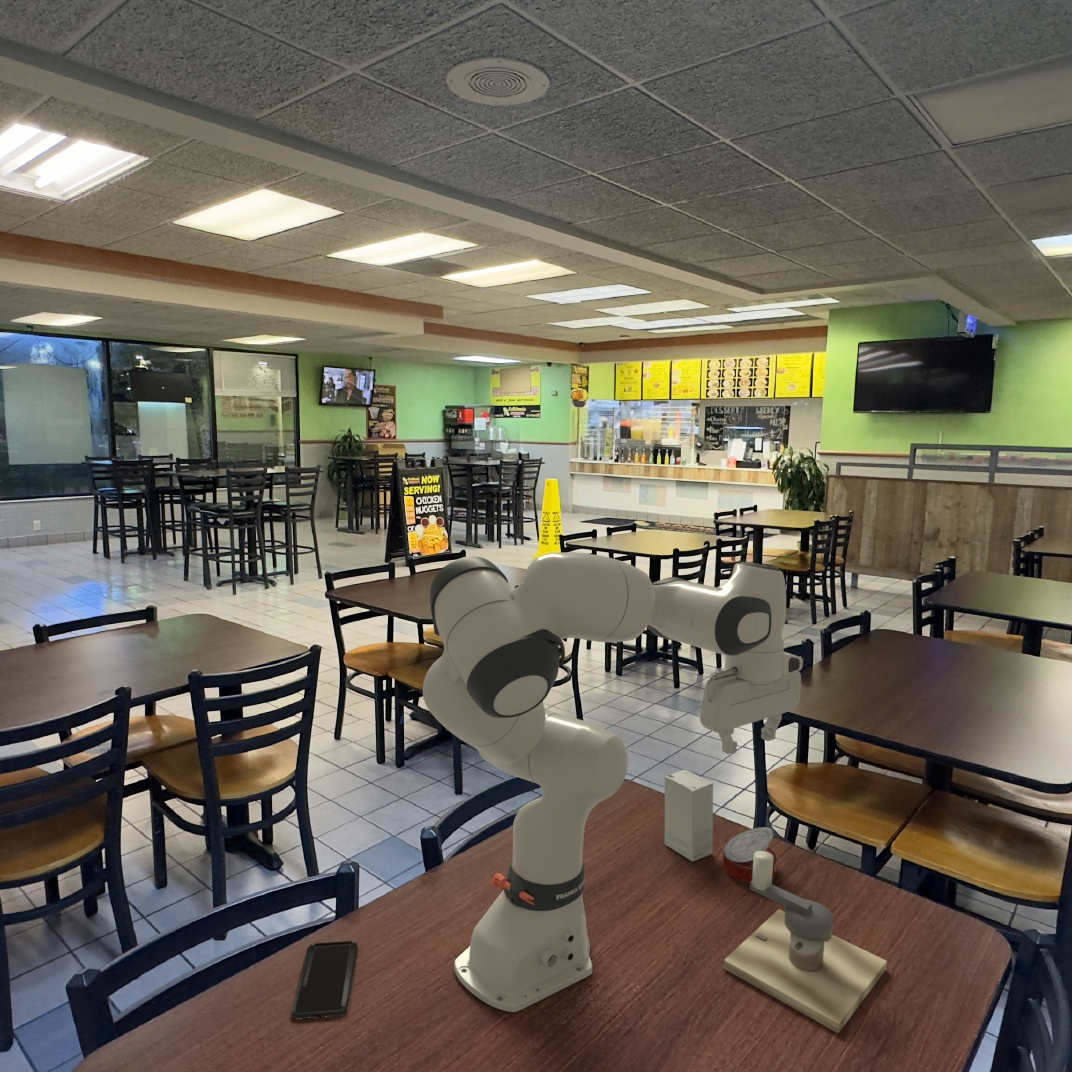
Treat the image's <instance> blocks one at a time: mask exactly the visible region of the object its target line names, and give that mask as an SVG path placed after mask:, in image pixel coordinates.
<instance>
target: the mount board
mask: <svg viewBox="0 0 1072 1072" xmlns="http://www.w3.org/2000/svg"><path fill="white" fill-rule="evenodd" d="M784 920H785V910H784V911H783V910H782V909H777V910H776V911H775V912H774V913H773V914H772V915H771V916H770V917H769V918H768V919H766V921H764V922H763V923H762V924H761V925H760V926H759V927H758V928H757V929H756V930H755V931H754V932H752V933H751V934H750V935H749V936H748V937H747V938H745V940H744V941H743V942H742V943H741V944H739V945H738V946H737V947H736V948H735V949H734V950H733V951H732V952H731V953H729V955H727V956H726V958H725V959H724V960H723V969H724V970H725V971H726V972H728V973H730V974H732V975H734V976H736V977H737V978H739V979H741V980H743V981H744V982H746V983H748V984H750V985H752V986H754V987H755V988H757V989H759V990H760V991H762V992H763V993H766V994H767V995H770V996H771V997H773V998H774V997H775V998H774V999H777V1000H778V1001H780V1002H781V1003H783V1004H785V1005H787V1004H788V1005H787V1006H789V1007H790V1006H791V1007H790V1008H792V1009H794V1010H796V1011H798V1012H799V1013H801V1014H803V1015H804V1016H807V1017H809V1018H810V1019H812V1020H813V1021H815V1022H817V1023H819V1024H821V1025H823V1026H824V1027H825V1028H826V1029H827V1028H828V1029H829V1030H831V1031H833V1032H835V1033H836V1034H839V1033H840V1032H841V1031H842V1029H844V1027H845V1026H846V1024H847V1023H848V1021H849V1020H851V1017H852V1016H853V1014H854V1013H855V1012H856V1011H857V1010H858V1008H859V1007H860V1005H861V1004H862V1002H863V1001H864V1000H865V998H866V997H867V996H868V994H869V993H870V992H871V990H872V989H873V988H874V987H875V985H876V984H877V982H879V979H880V978H881V977H882V976H883V974H885V972H886V970H887V962H888V960H886V959H884V958H882V957H880V956H877V955H875V954H873V953H872V952H870V951H867V950H865V949H864V948H860V947H859V946H857V945H855V944H852V943H850V942H848V941H846V940H844V939H842V938H840V937H838V936H836V935H834V934H832V935H831V937H830V938H829V939H827V940H824V941H809V940H805V939H802V938H800V937H797V936H796V935H794V934H793V933H791V932H790V931H789V930H788V929H787V927H786V926H785V923H784Z"/></svg>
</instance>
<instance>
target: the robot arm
mask: <svg viewBox="0 0 1072 1072" xmlns="http://www.w3.org/2000/svg"><path fill="white" fill-rule="evenodd" d="M731 573H732V575H731V576H730V578H728V580H726V581H725V582H723V584H721V585H719V586H717V587H716V586H715V587H714V586H711V585H707V584H703V583H698V582H697V583H696V582H694V581H693V582H692V581H689V580H687V579H685V578H684V579H683V578H681V577H680V578H679V577H676V576H671V577H665V578H663V579H660V580H658V581H657V580H656V581H654V582H652V581H651V578H650V576H649V575H648V573H646V572H645V571H643V570H641V569H640V568H638V567H635V566H634V565H633V564H629V563H627V562H625V561H622V560H619V559H615V558H612V557H607V556H603V555H599V554H591V553H584V552H569V551H568V552H550V553H545V554H542V555H540V556H538V557H537V558H536V559H534V560H533V561H532V562H531V563H530V564H529V565H528V567H527V568H526V570H525V571H524V573H523V576H522V579H521V581H520V584H519V585H518V586H516V587H514V588H512V587H511V585H510V583H509V580H508V578H507V576H506V575H505V574H504V573H503V571H502V570H501V569H499V567H498V566H497V565H496V564H494V562H492V561H490V560H489V559H487V558H484V557H481V556H475V555H474V556H464V557H461V558H460V557H459V558H458V559H455V560H453V561H451V562H450V563H447V564H446V565H445V566H443V567H442V568H441V569H440V570H439V571H438V572H437V574H435V576H434V578H433V580H432V581H431V584H430V587H429V605H430V612H431V619H432V622H433V623H432V625H433V631H434V634H435V635H436V636H437V637H440V639H441V642H442V643H443V651H442V652H443V653H442V655H441V656H440V657H438V659H437V660H435V661H434V662H433V664H432V665H430V668H429V669H428V670H427V671H426V674H425V676H424V680H423V684H422V697H423V701H424V704H425V706H426V707H427V709H428V711H429V712H430V714H432V716H433V717H434V718H435V720H437V722H438V723H439V724H441V726H443V727H444V728H445V729H446V730H447V731H449V732H450V733H451V734H452V735H454V736H455V737H457V739H459V740H461V741H462V742H464V743H466V744H468V745H469V746H471V747H473V748H475V749H476V750H477V752H478V753H479V755H480V757H481V758H482V759H483V760H484V761H486V762H487V763H489V764H490V765H492V766H493V767H496V768H497V769H498V770H501V772H504V773H506V774H508V775H511V776H514V777H517V778H520V779H523V780H526V781H528V782H531V783H534V784H537V785H539V786H540V789H541V797H539V798H536V799H533V800H532V801H531V800H530V801H529V802H527V803H525V804H524V805H523V806H522V807H521V808H520V809H519V810H518V812H517V813H516V815H515V817H514V821H513V823H512V858H511V861H510V863H509V867H508V869H507V872H506V877H505V876H504V875H503V874H502V873H500V872H497V873H495V874H494V875H493V878H492V879H491V884H492V886H493V887H495V888H498V889H499V891H501V893H500V894H499V895H498V896H497V897H496V898H495V900H494V902H493V903H492V904H491V906H490V907H489V908H488V910H487V911H486V912H485V914H484V915H483V916H482V918H481V919H480V920H479V921H478V922H477V924H476V925H475V927H474V928H473V930H472V931H473V932H472V934H471V939H470V945H469V946H468V947H467V948H466V949H465V950H464V951H463V952H462V953H460V955H458V957H456V959H455V960H454V966H453V968H454V973H455V976H456V977H457V979H458V980H459V982H460V983H461V984H462V986H464V987H465V988H466V990H468V992H470V993H471V994H472V995H474V996H475V997H476V998H478V999H479V1000H480V1001H482V1002H484V1003H485V1004H487V1005H489V1006H491V1007H492V1008H495V1009H497V1010H501V1011H505V1012H510V1013H517V1012H520V1011H521V1010H524V1009H526V1008H528V1007H530V1006H532V1005H533V1004H535V1003H538V1002H539V1001H542V1000H544V999H546V998H547V997H549V996H552V995H554V994H556V993H557V992H560V991H562V990H563V989H565V988H568V987H570V986H572V985H573V984H576V983H577V982H579V981H581V980H583V979H586V978H587V977H590V976H591V975H592V974H593V963H592V960H591V958H590V957H591V956H590V952H591V943H590V938H589V936H588V929H587V918H586V911H585V906H584V900H583V894H584V890H585V883H586V882H585V881H586V873H585V863H584V861H583V850H584V849H583V848H584V838H585V837H584V835H585V826H586V822H587V820H588V817H589V815H590V813H591V811H592V810H593V808H595V806H597V805H598V804H600V802H602V801H604V800H607V799H609V798H610V797H612V796H613V795H614V794H615V793H617V791H618V790H619V789H620V788H621V786H622V785H623V784H624V781H625V779H626V776H627V773H628V770H629V769H628V768H629V758H628V750H627V747H626V745H625V743H624V740H623V739H622V738H621V737H620V736H618V735H616V734H615V733H613V732H611V731H610V730H608V729H606V728H604V727H602V726H600V725H598V724H596V723H593V722H590V721H586V720H582V719H579V718H575V717H572V716H568V715H565V714H561V713H557V712H554V711H551V710H547V709H546V708H545V705H544V701H545V699H546V698H547V696H548V695H549V693H550V692H551V689H553V686H554V684H555V682H556V680H557V678H558V674H559V669H560V667H561V666H562V665H563V664H564V663H565V662H564V661H565V657H566V650H565V649H566V647H565V644H564V642H563V640H564V639H579V640H585V641H590V642H591V641H592V642H600V643H622V642H628V641H629V642H630V641H633V640H635V639H637V638H638V637H639V636H640V635H641V634H643V633H644V632H645V630H646V629H648V630H649V631H651V633H653V635H655V636H657V637H658V638H661V639H665V640H669V641H674V642H679V643H682V644H686V645H689V646H692V647H697V648H699V649H702V650H706V651H709V652H712V653H716V654H720V655H724V656H725V658H724V669H723V670H717V671H715V672H713V673H712V676H710V678H709V679H708V680H706V681H707V682H706V685H705V687H704V691H703V694H702V700H701V707H700V715H699V721H700V723H701V725H702V726H703V728H705V729H707V730H710V731H711V732H714V733H717V734H718V736H719V738H720V740H721V749H722V752H723V753H725V754H727V755H731V754H734V753H736V752H737V751H738V750H737V749H738V748H737V747H738V742H737V741H736V740H733V737H732V735H733V734H734V731H735V730H734V729H736V728H739V727H742V726H746V725H750V724H752V723H756V722H759V721H762V720H765V719H766V722H765V725H764V727H761V730H760V732H761V734H760V737H761V739H762V740H763V741H766V742H769V741H773V740H775V739H776V733H777V729H778V727H779V725H780V723H781V721H782V718H783V717H782V715H783V714H784V713H787V712H792V711H795V710H796V709H797V707H798V704H799V703H800V700H801V689H802V675H801V673H800V671H802V669H803V664H804V661H803V658H802V657H800V656H798V655H795V654H792V653H789V652H787V651H784V647H785V645H784V644H785V643H784V640H783V628H784V626H785V624H786V618H787V617H786V615H787V589H786V588H787V586H786V579H785V577H784V576H785V575H784V573H783V571H782V570H781V569H779V568H778V567H776V566H773V565H766V564H761V563H754V562H750V561H740V562H736V563H735V564H734V566H733V569H732V572H731Z"/></svg>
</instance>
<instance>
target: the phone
mask: <svg viewBox="0 0 1072 1072" xmlns="http://www.w3.org/2000/svg"><path fill="white" fill-rule="evenodd" d="M358 948H359V947H358V942H356V941H354V940H349V941H348V940H347V941H344V940H343V941H331V942H317V943H316V942H315V943H312V944H310V945H309V946H308V947H307V949H306V952H305V957H304V960H303V965H302V968H301V973H300V976H299V979H298V983H297V987H296V991H295V995H294V1000H293V1002H292V1003H293V1004H292V1008H291V1016H293V1017H294V1018H308V1017H310V1018H312V1019H314V1018H313V1017H315V1016H316V1017H319V1016H321V1017H325V1016H327V1017H325V1018H335V1016H338V1017H342V1016H345V1015H346V1014H347V1013H348V1011H349V1005H350V1000H351V995H352V993H351V992H352V987H353V981H354V975H355V968H356V962H357V957H358V950H359V949H358ZM332 1016H334V1017H332ZM293 1017H292V1018H293ZM294 1018H293V1019H294Z"/></svg>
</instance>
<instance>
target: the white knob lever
mask: <svg viewBox="0 0 1072 1072" xmlns="http://www.w3.org/2000/svg"><path fill="white" fill-rule="evenodd" d="M772 870H773V856H772V855H771V854H770V853H768V852H765V851H757V852H755V853H754V860H753V876H752V881H751V882H749V890H750V891H753V892H754V893H757V894H759V895H761V896H764V897H766V898H768V899H770V900H771V901H773V902H776V903H778V904H780V905H782V906H784V907H785V908H784V912H785V920H784V923H785V926H786V927H787V929H788V930H789V931H790V932H791V933H793V934H794V935H796V936H797V937H800V938H802V939H805V940H809V941H824V940H827V939H829V938H830V937H831V935H833V929H834V928H833V927H834V915H833V913H832V912H831V910H830V909H829V908H828V907H827V906H825V905H823V904H821V903H820V902H817V901H814V900H809V899H805V898H802V897H801V896H798V895H796V894H794V893H791V892H789V891H787V890H785V889H783V888H780V887H779V886H776V885H774V884H772V882H773V879H772Z"/></svg>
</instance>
